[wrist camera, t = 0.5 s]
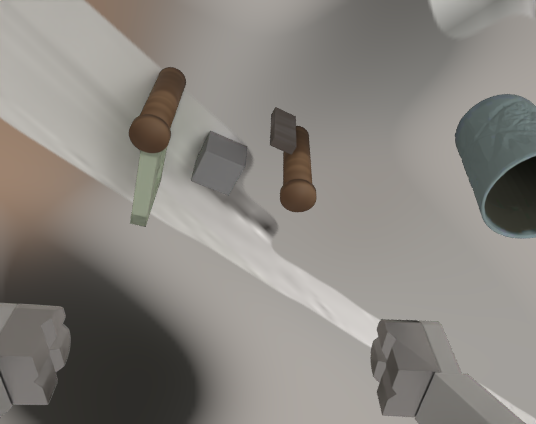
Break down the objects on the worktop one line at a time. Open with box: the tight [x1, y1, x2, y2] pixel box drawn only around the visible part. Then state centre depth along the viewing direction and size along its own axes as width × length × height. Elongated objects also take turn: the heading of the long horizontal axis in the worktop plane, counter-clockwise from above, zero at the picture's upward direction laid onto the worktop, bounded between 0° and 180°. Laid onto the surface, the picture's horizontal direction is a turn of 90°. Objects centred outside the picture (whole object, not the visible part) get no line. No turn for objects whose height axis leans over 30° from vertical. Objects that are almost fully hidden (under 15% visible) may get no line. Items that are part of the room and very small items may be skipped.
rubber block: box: [191, 131, 247, 196], centre depth 52 cm, size 4×4×4 cm
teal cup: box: [455, 94, 536, 238], centre depth 46 cm, size 10×10×12 cm
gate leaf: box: [130, 127, 171, 227], centre depth 49 cm, size 2×10×8 cm, turn 163°
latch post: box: [270, 108, 316, 212], centre depth 47 cm, size 4×5×11 cm
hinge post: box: [129, 67, 186, 153], centre depth 44 cm, size 3×3×11 cm
